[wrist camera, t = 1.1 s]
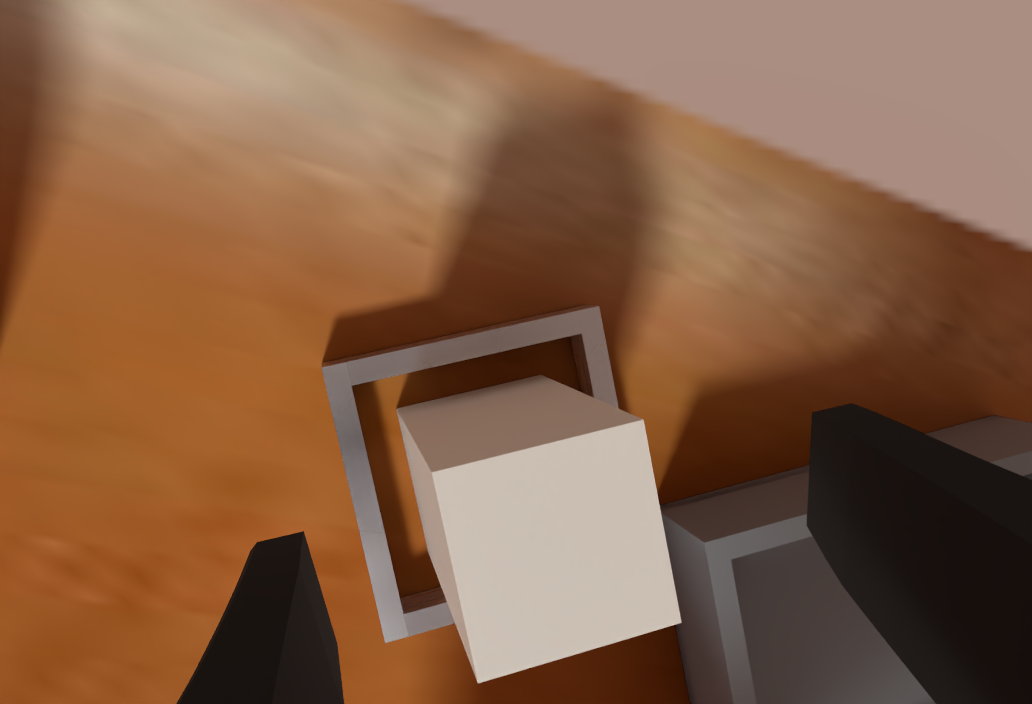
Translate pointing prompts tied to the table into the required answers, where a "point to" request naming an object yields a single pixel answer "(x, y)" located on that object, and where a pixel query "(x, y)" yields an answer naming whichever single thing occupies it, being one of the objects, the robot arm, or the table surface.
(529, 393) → the strut
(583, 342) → the steel socket
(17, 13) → the table surface
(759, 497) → the bin
